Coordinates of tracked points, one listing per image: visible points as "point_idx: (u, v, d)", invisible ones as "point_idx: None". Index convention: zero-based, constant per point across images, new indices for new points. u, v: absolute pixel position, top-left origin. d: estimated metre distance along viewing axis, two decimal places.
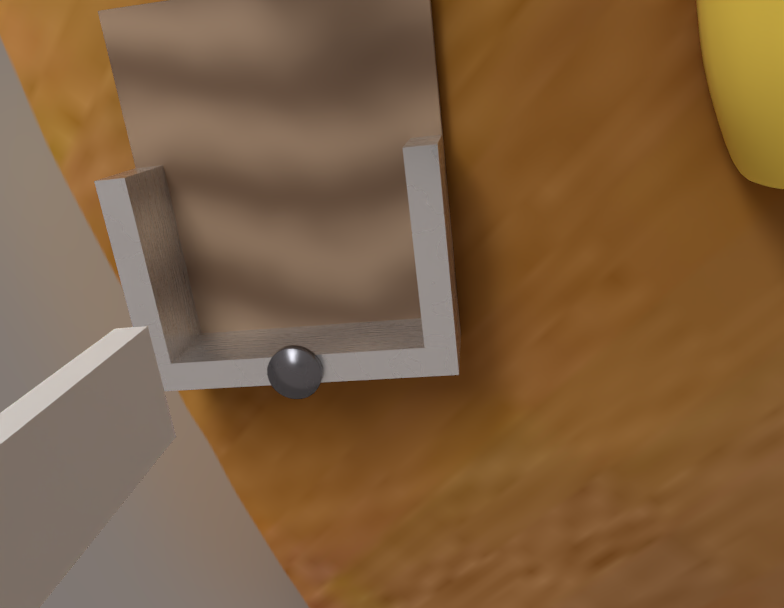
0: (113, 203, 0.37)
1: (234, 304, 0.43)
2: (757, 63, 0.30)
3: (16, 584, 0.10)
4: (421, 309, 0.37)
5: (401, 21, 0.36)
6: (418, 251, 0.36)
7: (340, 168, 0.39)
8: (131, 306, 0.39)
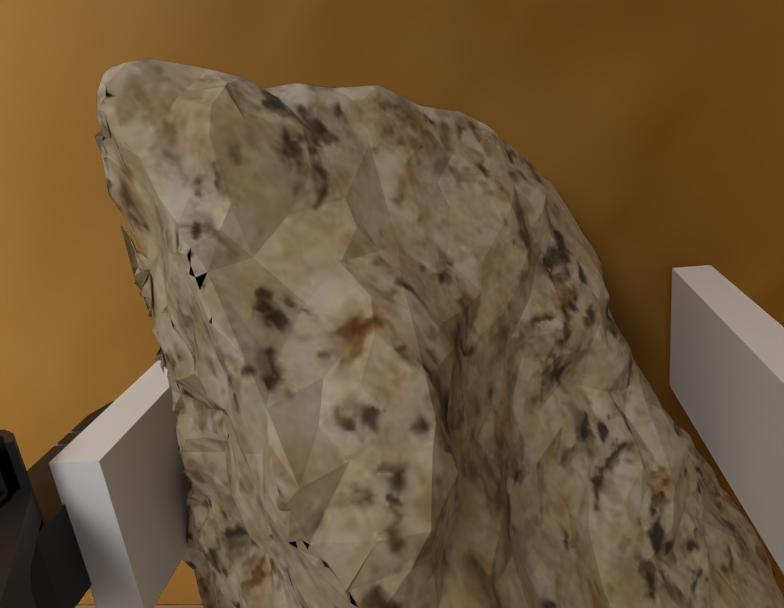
0: None
1: None
2: None
3: (172, 526, 0.11)
4: None
5: None
6: None
7: None
8: None
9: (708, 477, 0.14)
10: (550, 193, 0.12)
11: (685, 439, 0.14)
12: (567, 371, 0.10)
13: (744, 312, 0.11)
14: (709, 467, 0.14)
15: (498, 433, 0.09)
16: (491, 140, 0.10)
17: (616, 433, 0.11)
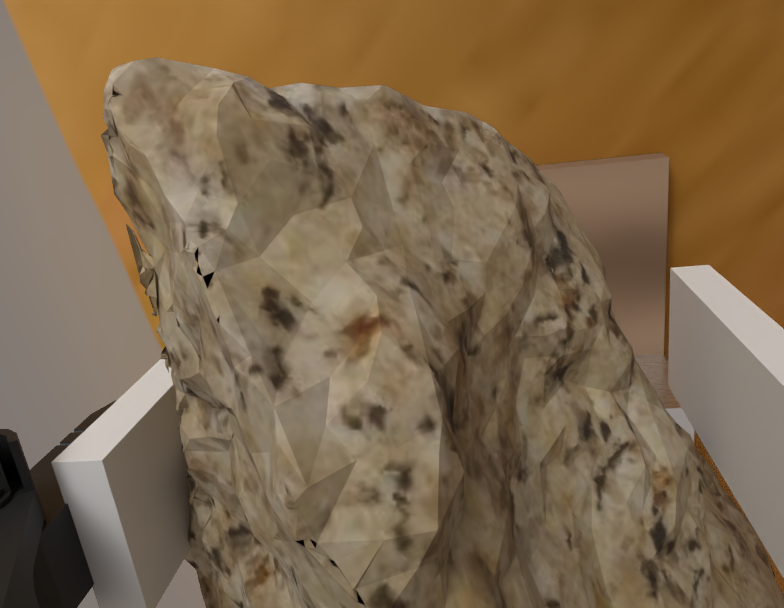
0: None
1: None
2: None
3: (174, 525, 0.11)
4: None
5: (627, 225, 0.28)
6: None
7: None
8: None
9: (709, 477, 0.14)
10: (554, 194, 0.12)
11: (686, 439, 0.14)
12: (570, 371, 0.10)
13: (742, 312, 0.11)
14: (710, 466, 0.14)
15: (502, 432, 0.09)
16: (494, 140, 0.10)
17: (618, 433, 0.11)
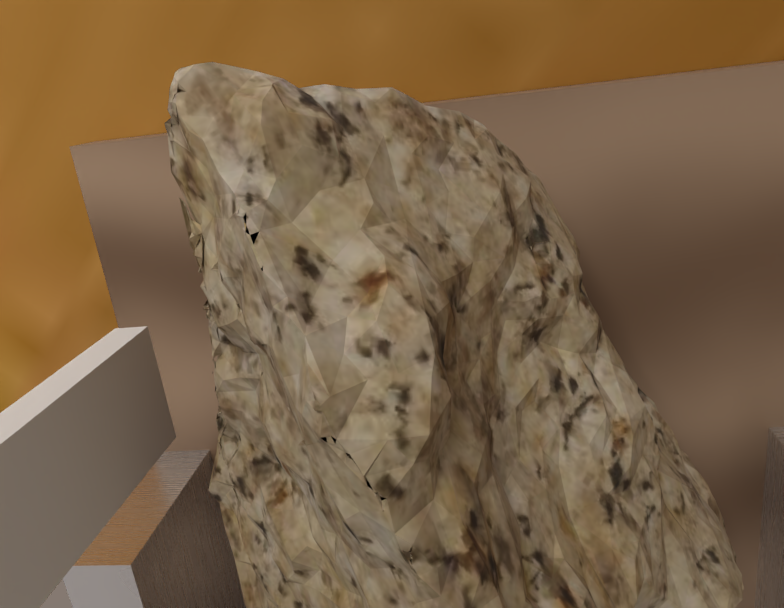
0: None
1: None
2: None
3: (16, 584, 0.10)
4: None
5: None
6: None
7: None
8: None
9: (668, 438, 0.16)
10: (535, 184, 0.13)
11: (649, 404, 0.16)
12: (544, 333, 0.12)
13: None
14: (670, 429, 0.16)
15: (484, 378, 0.11)
16: (483, 136, 0.12)
17: (584, 388, 0.12)
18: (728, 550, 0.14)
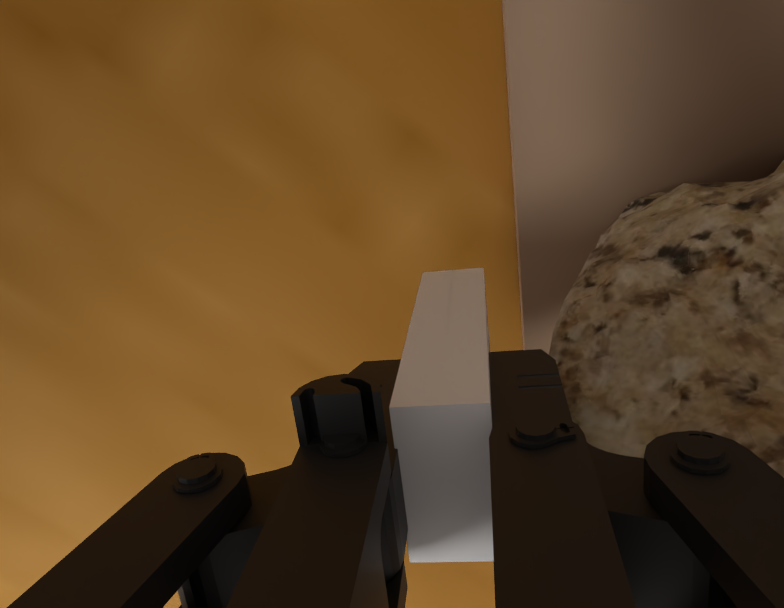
0: None
1: None
2: None
3: None
4: None
5: None
6: None
7: None
8: None
9: None
10: (624, 237, 0.14)
11: None
12: None
13: (469, 309, 0.13)
14: None
15: None
16: (576, 309, 0.13)
17: None
18: None
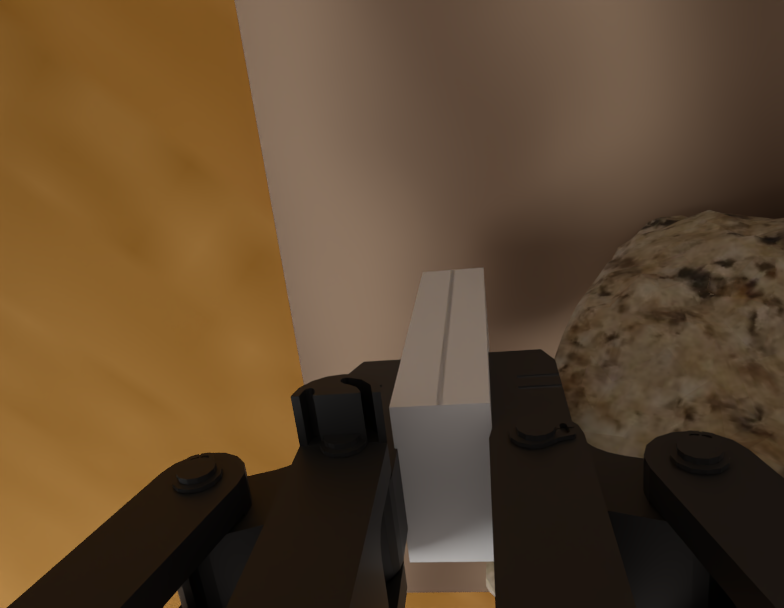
0: None
1: None
2: None
3: None
4: None
5: None
6: None
7: (697, 148, 0.15)
8: None
9: None
10: (644, 253, 0.14)
11: None
12: None
13: (468, 308, 0.13)
14: None
15: None
16: (589, 315, 0.13)
17: None
18: None
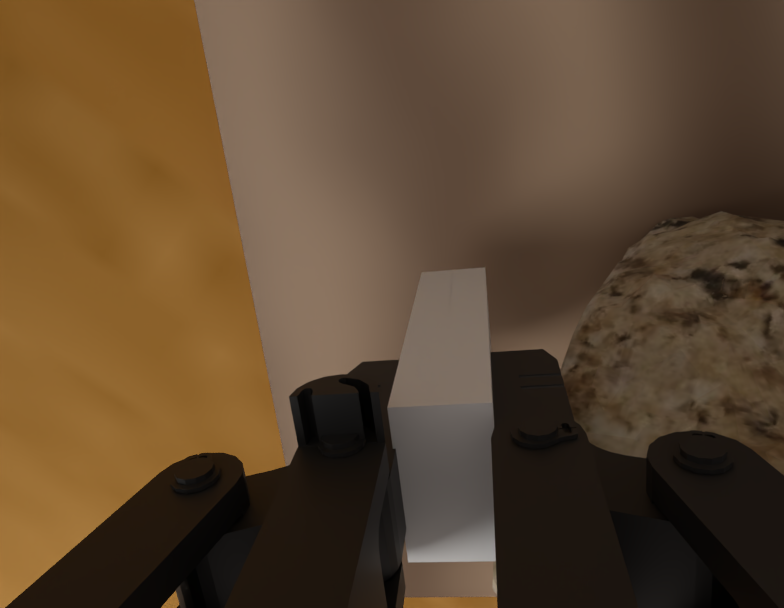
0: None
1: None
2: None
3: None
4: None
5: None
6: None
7: (657, 155, 0.15)
8: None
9: None
10: (656, 253, 0.14)
11: None
12: None
13: (470, 308, 0.13)
14: None
15: None
16: (600, 315, 0.13)
17: None
18: None
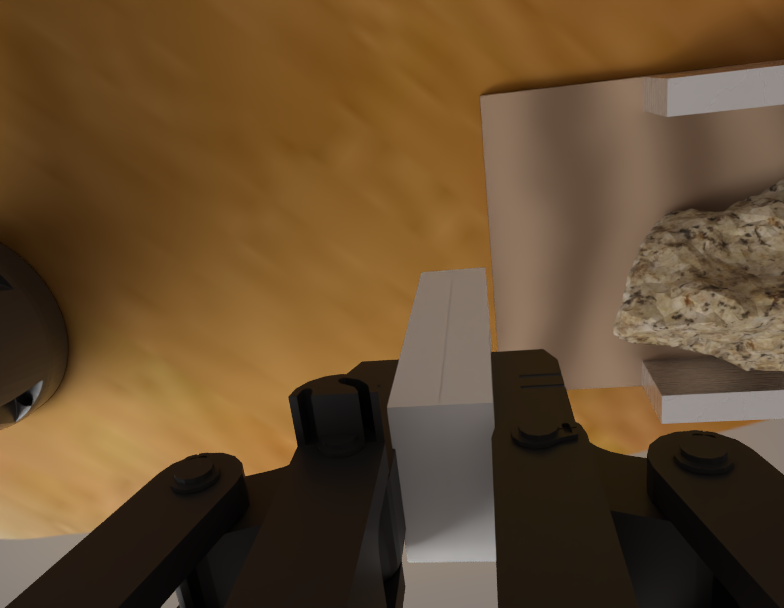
0: (686, 410, 0.38)
1: None
2: None
3: None
4: None
5: (530, 120, 0.38)
6: None
7: (666, 186, 0.38)
8: None
9: None
10: (666, 224, 0.37)
11: (779, 186, 0.36)
12: (724, 240, 0.35)
13: (471, 308, 0.13)
14: None
15: (730, 271, 0.33)
16: (647, 245, 0.36)
17: (751, 230, 0.34)
18: None
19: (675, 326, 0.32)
